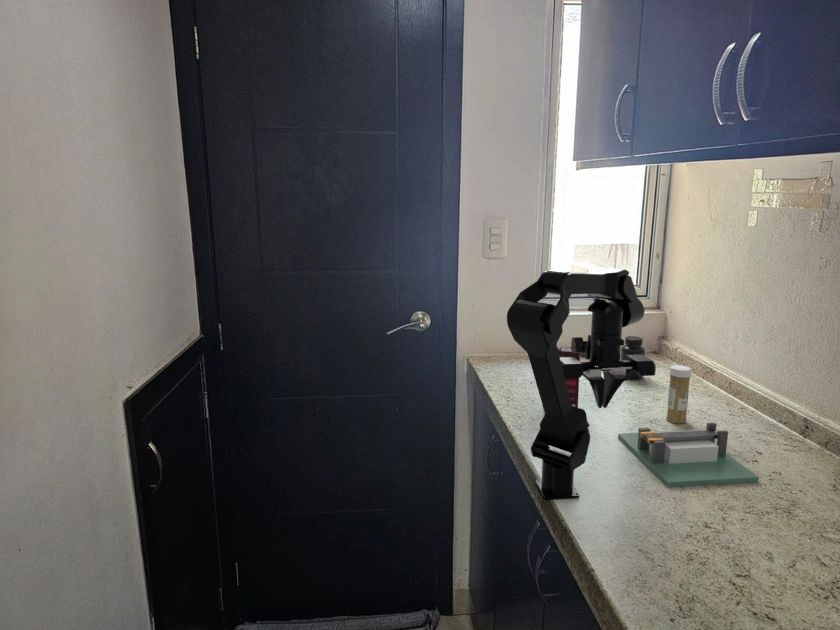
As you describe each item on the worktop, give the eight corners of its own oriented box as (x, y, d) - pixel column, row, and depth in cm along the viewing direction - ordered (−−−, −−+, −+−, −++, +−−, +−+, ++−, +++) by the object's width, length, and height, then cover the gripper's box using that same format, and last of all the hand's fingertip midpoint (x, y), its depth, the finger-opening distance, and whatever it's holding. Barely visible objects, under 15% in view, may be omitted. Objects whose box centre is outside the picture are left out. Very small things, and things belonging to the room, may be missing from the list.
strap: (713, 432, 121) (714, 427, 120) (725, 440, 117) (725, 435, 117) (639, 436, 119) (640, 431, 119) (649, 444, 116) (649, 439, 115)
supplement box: (577, 406, 148) (580, 347, 145) (577, 413, 144) (580, 352, 140) (543, 403, 150) (545, 345, 147) (542, 410, 146) (544, 349, 142)
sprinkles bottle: (686, 425, 135) (691, 371, 133) (665, 422, 137) (670, 368, 134) (686, 418, 140) (691, 365, 137) (665, 415, 141) (670, 363, 138)
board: (758, 481, 109) (762, 450, 108) (667, 487, 108) (670, 455, 106) (694, 434, 131) (697, 407, 129) (618, 437, 129) (619, 410, 128)
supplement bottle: (614, 375, 172) (616, 336, 170) (631, 371, 175) (633, 333, 173) (631, 381, 166) (633, 341, 164) (648, 378, 169) (651, 339, 167)
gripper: (633, 321, 120) (628, 391, 124) (547, 324, 119) (544, 395, 122) (660, 334, 109) (653, 411, 113) (564, 337, 108) (561, 415, 111)
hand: (601, 407), depth 115 cm, fingers closed
